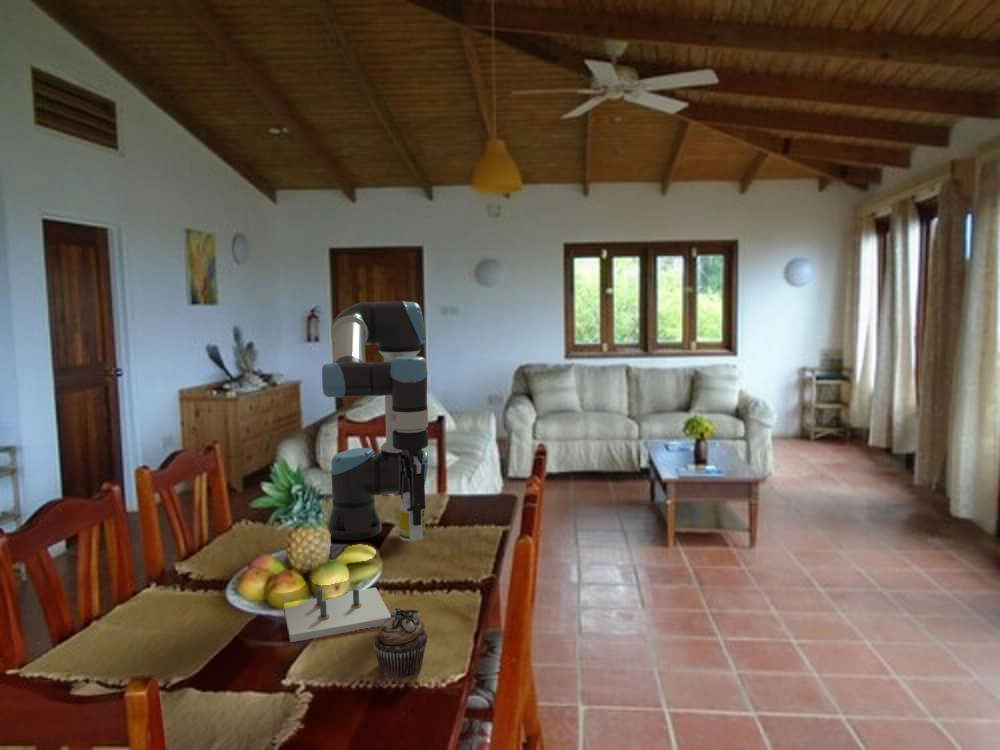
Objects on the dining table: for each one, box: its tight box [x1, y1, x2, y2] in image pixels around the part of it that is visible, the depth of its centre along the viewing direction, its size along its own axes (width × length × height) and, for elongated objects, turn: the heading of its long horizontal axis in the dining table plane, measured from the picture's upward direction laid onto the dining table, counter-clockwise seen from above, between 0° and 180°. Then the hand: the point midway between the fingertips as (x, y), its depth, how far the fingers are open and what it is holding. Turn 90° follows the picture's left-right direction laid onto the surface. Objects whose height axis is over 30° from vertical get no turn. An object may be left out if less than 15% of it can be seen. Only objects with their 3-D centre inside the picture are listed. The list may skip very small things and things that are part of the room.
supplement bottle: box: [399, 492, 426, 542], centre depth 155 cm, size 5×5×10 cm
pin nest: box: [284, 587, 391, 643], centre depth 150 cm, size 16×20×5 cm
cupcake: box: [372, 607, 428, 679], centre depth 129 cm, size 10×10×10 cm
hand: (412, 533), depth 156 cm, fingers closed on supplement bottle, 5 cm apart
